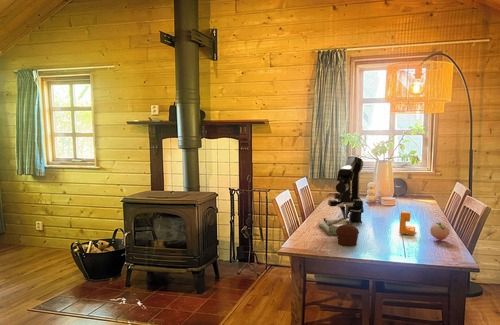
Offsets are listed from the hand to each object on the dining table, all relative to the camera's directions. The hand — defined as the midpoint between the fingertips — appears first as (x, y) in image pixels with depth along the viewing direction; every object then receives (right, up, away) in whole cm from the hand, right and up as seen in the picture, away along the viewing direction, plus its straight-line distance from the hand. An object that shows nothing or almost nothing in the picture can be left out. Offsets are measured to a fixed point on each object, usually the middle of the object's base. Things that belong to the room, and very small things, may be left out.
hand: (345, 217), depth 213 cm
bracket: (+34, -8, -3) cm, 35 cm away
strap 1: (-4, -2, 0) cm, 5 cm away
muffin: (-5, -11, -22) cm, 25 cm away
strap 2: (-3, -3, +9) cm, 10 cm away
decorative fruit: (+44, -10, -18) cm, 49 cm away
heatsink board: (-3, -8, +5) cm, 10 cm away
